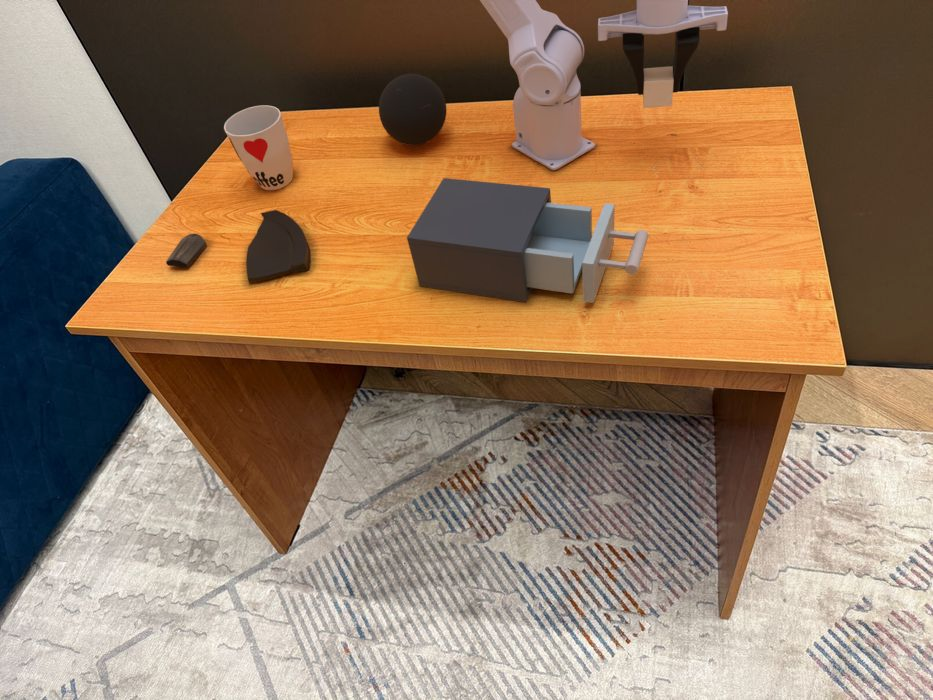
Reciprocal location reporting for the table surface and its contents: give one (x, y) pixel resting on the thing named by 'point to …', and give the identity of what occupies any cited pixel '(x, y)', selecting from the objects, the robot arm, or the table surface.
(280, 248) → the dark sector wedge
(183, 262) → the block
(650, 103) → the beige cube
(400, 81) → the black ball
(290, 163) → the cup
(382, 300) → the table surface
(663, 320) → the table surface
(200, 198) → the table surface
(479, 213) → the cabinet
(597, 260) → the drawer
